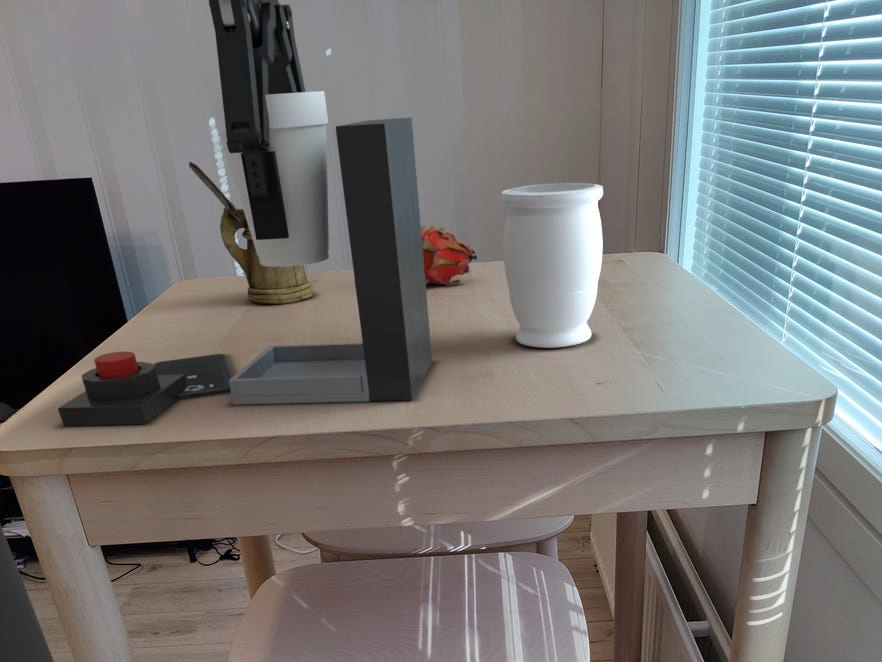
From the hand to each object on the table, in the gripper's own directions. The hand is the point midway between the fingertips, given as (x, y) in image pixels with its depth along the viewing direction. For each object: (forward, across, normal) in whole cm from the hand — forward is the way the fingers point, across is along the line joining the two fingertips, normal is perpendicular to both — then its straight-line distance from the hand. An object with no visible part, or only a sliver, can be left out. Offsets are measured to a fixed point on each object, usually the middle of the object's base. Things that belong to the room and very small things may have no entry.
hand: (289, 230), depth 78 cm
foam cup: (+3, 0, 0) cm, 3 cm away
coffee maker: (+14, 0, +2) cm, 14 cm away
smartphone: (+15, -3, -14) cm, 21 cm away
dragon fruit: (+14, -50, +6) cm, 52 cm away
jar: (+14, -14, +23) cm, 31 cm away
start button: (+11, +6, -17) cm, 21 cm away
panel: (+14, +6, -17) cm, 23 cm away
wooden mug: (+14, -42, -18) cm, 48 cm away
